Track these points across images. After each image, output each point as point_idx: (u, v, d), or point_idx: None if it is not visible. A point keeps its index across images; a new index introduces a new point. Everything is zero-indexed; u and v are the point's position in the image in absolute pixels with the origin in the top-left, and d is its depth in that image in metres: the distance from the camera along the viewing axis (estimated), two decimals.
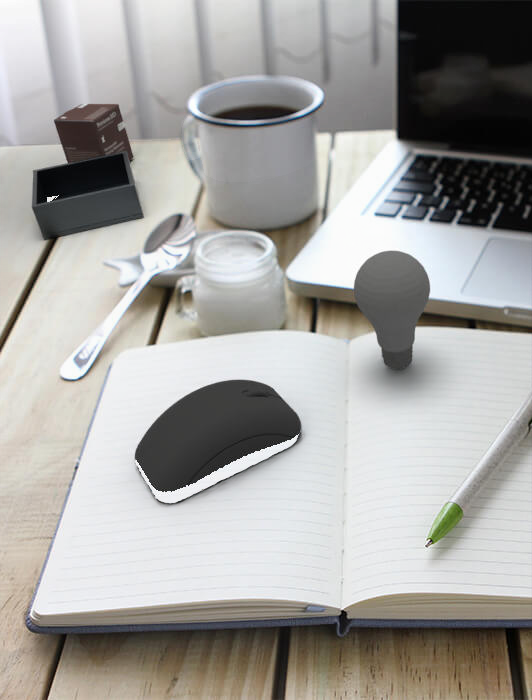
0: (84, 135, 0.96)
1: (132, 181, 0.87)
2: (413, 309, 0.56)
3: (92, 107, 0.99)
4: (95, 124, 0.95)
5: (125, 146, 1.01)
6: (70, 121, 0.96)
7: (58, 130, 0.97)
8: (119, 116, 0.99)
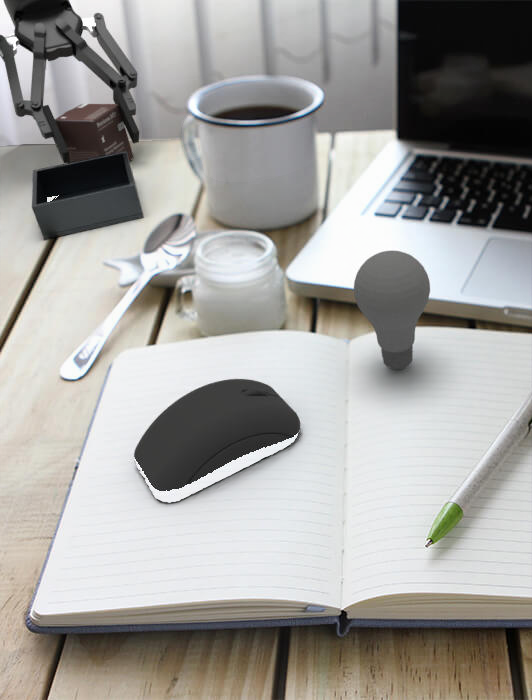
0: (84, 135, 0.96)
1: (132, 181, 0.87)
2: (413, 309, 0.56)
3: (92, 107, 0.99)
4: (95, 124, 0.95)
5: (125, 146, 1.01)
6: (70, 121, 0.96)
7: None
8: (119, 116, 0.99)
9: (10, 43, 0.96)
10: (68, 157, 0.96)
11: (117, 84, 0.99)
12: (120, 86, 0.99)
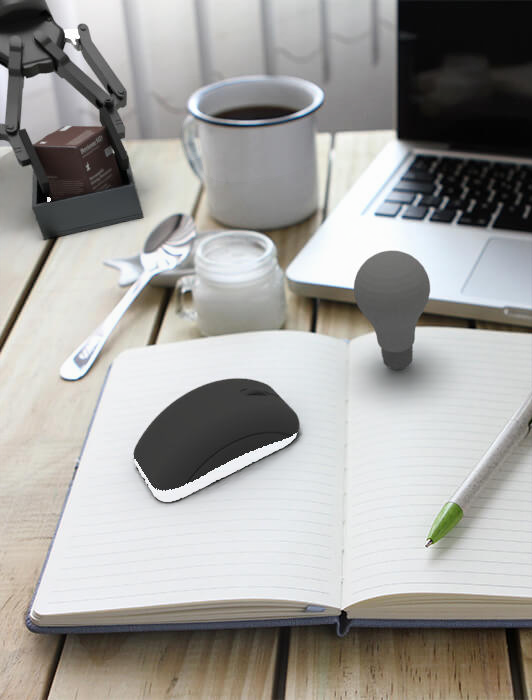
0: (66, 162, 0.85)
1: (132, 181, 0.87)
2: (413, 309, 0.56)
3: (76, 130, 0.88)
4: (78, 150, 0.84)
5: (114, 174, 0.90)
6: (50, 147, 0.84)
7: None
8: (106, 139, 0.88)
9: None
10: (48, 187, 0.85)
11: (104, 104, 0.87)
12: (107, 106, 0.88)
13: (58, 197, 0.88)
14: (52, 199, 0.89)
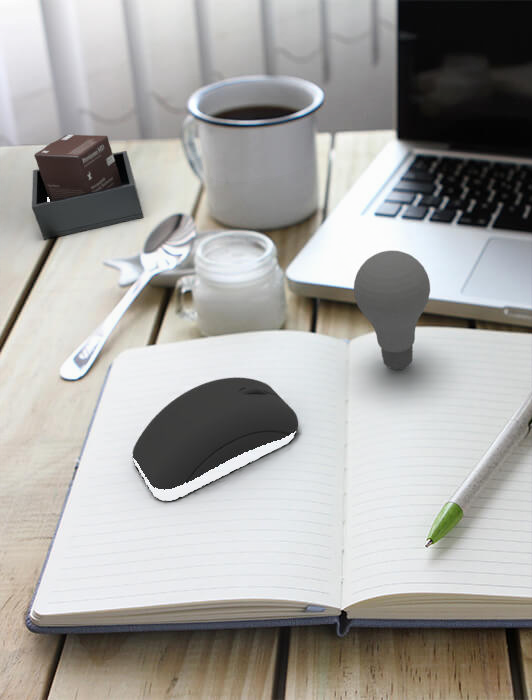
0: (68, 172, 0.85)
1: (132, 181, 0.87)
2: (413, 309, 0.56)
3: (78, 139, 0.88)
4: (80, 160, 0.84)
5: (115, 182, 0.90)
6: (53, 156, 0.85)
7: (39, 166, 0.86)
8: (107, 149, 0.89)
9: None
10: None
11: None
12: None
13: None
14: None
